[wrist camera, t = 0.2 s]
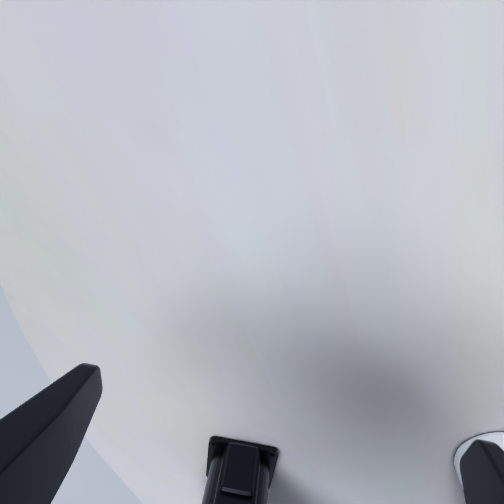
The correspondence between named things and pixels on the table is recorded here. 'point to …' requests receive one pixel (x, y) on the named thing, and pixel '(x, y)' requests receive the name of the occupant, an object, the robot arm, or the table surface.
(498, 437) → the bath foam
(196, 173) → the table surface
